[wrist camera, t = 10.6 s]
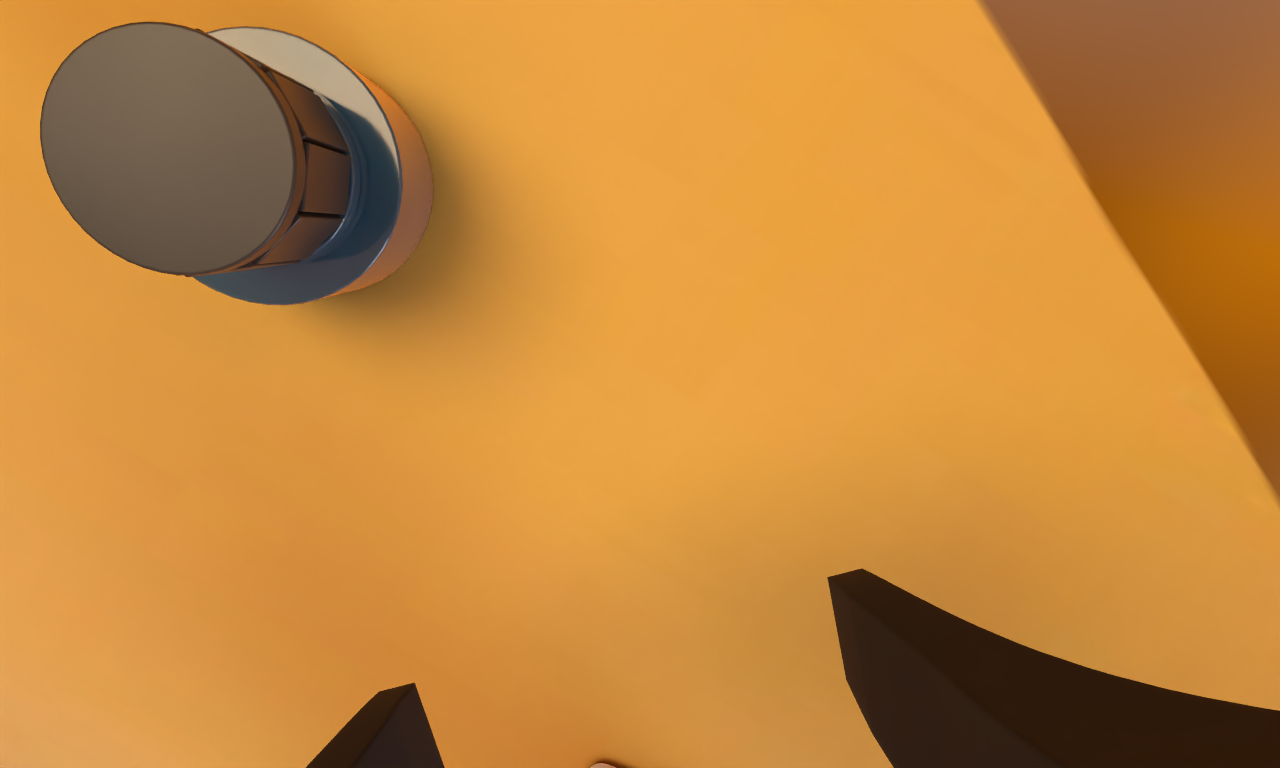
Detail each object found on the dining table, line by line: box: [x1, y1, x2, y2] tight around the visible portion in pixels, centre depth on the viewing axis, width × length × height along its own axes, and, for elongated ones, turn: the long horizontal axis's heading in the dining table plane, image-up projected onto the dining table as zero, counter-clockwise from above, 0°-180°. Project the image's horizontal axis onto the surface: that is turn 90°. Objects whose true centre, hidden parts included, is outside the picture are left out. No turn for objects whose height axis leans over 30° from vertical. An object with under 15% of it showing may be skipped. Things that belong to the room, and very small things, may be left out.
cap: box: [40, 22, 351, 277], centre depth 13 cm, size 4×4×3 cm
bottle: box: [193, 26, 433, 305], centre depth 16 cm, size 6×6×6 cm
